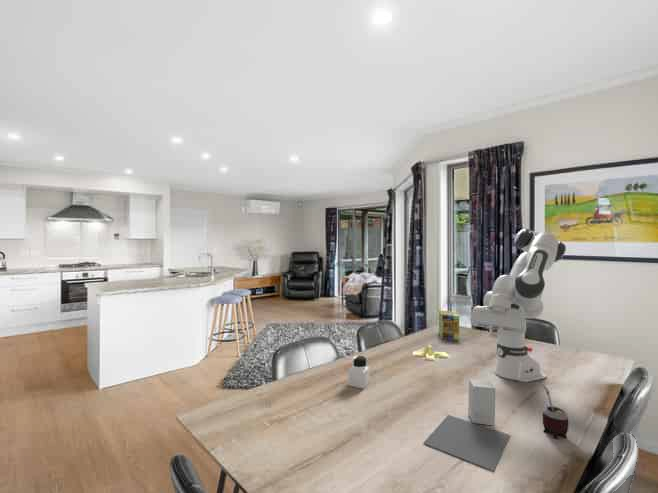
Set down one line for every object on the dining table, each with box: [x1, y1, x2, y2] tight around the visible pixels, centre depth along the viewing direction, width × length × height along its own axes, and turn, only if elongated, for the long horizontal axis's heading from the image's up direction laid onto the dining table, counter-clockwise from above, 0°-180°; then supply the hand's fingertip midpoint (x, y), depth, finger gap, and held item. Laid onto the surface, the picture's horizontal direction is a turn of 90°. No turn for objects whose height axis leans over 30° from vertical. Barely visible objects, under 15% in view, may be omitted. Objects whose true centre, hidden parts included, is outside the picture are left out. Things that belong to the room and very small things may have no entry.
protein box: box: [438, 310, 460, 341], centre depth 224 cm, size 10×15×16 cm
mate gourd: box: [539, 381, 569, 440], centre depth 111 cm, size 8×8×15 cm
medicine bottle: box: [348, 355, 370, 390], centre depth 147 cm, size 7×7×12 cm
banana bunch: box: [411, 344, 451, 362], centre depth 188 cm, size 22×19×6 cm
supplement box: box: [467, 378, 497, 426], centre depth 119 cm, size 7×7×13 cm
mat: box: [422, 414, 511, 473], centre depth 107 cm, size 22×20×1 cm
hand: (494, 337), depth 132 cm, fingers closed
